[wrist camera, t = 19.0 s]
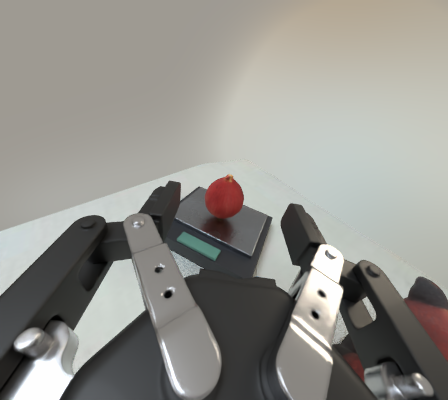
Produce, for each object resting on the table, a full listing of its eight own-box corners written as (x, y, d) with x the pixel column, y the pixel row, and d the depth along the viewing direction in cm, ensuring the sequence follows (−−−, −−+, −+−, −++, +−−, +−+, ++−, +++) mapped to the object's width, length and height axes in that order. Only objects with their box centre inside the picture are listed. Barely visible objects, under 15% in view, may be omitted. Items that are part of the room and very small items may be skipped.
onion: (201, 204, 29) (207, 162, 24) (233, 206, 30) (244, 166, 26) (203, 230, 25) (210, 183, 20) (240, 230, 26) (256, 187, 21)
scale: (148, 237, 26) (146, 222, 24) (197, 195, 36) (199, 183, 35) (245, 291, 22) (252, 278, 20) (268, 226, 33) (274, 214, 31)
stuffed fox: (280, 356, 17) (355, 306, 10) (351, 319, 21) (438, 266, 14) (343, 495, 12) (599, 595, 5) (421, 408, 16) (618, 393, 9)
